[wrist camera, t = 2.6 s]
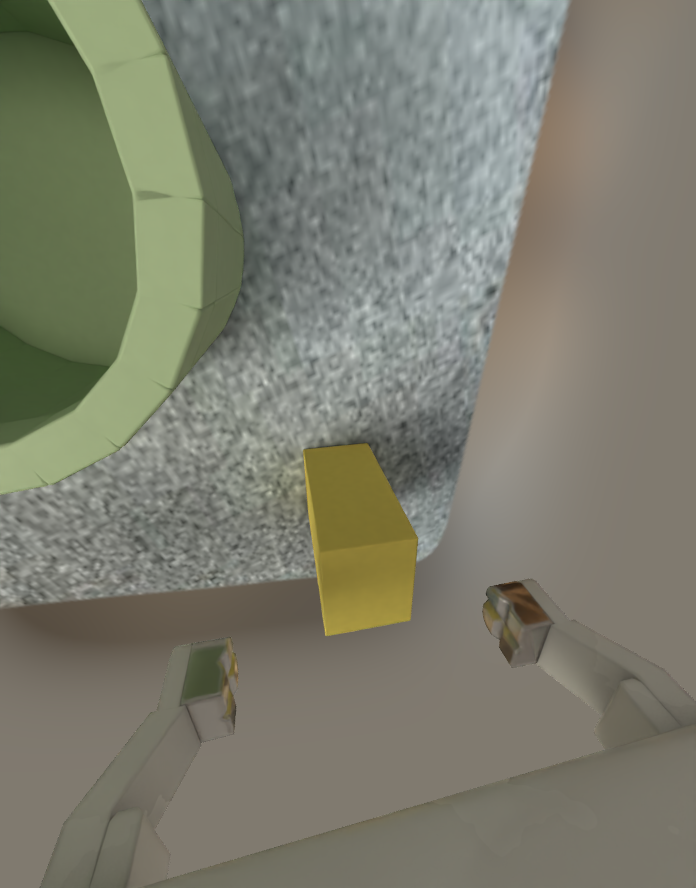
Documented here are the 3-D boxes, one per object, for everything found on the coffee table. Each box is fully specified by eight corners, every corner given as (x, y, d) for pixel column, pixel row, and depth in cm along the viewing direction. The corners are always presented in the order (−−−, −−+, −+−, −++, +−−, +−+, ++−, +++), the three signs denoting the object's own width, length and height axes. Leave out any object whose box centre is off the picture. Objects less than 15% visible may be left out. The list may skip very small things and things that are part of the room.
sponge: (367, 442, 17) (419, 538, 11) (367, 507, 19) (410, 621, 13) (303, 448, 17) (319, 553, 11) (308, 515, 19) (325, 637, 13)
